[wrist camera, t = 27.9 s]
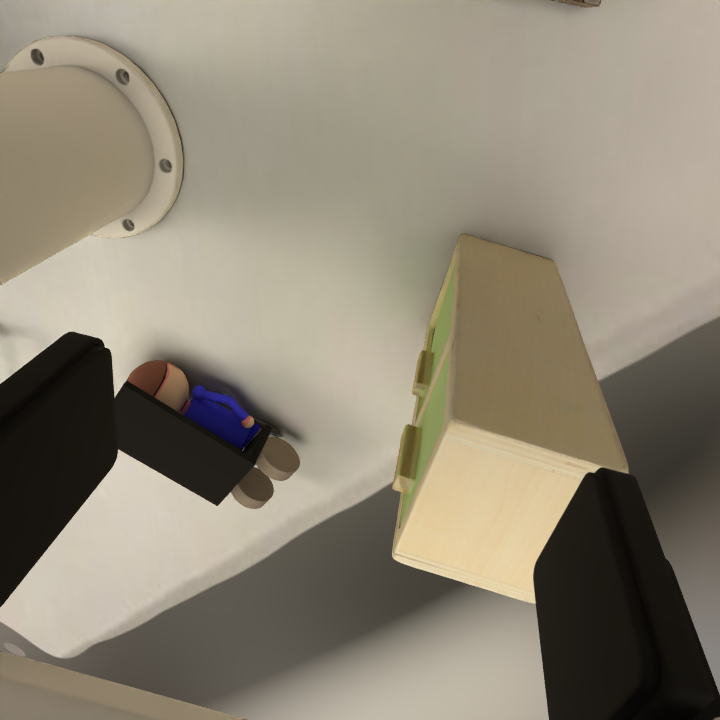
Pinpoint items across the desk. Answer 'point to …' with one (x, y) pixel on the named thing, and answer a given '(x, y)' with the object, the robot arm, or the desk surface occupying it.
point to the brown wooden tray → (581, 2)
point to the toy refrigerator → (498, 422)
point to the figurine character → (199, 437)
